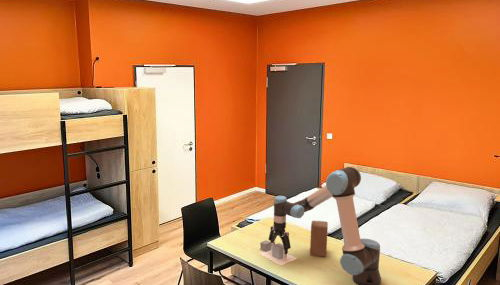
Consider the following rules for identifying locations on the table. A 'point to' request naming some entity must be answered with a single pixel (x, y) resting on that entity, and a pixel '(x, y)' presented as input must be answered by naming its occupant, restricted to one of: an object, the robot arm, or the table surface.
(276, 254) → the slate cube
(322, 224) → the wooden block
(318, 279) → the table surface
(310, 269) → the table surface
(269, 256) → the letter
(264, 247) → the grey cube
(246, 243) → the table surface
